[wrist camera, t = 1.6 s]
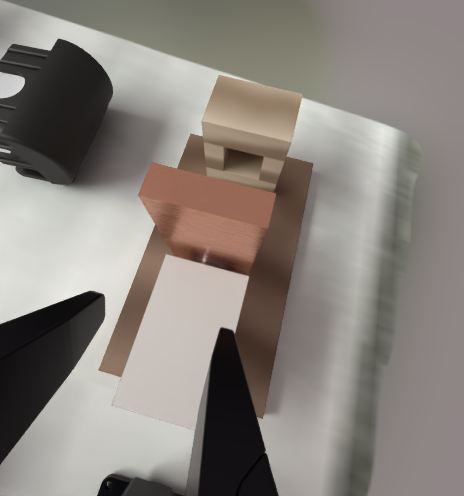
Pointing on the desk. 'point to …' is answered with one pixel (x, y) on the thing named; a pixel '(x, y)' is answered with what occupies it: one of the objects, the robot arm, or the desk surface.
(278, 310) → the base board
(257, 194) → the brushed copper slab
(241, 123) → the socket block
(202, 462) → the robot arm
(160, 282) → the white rectangular block
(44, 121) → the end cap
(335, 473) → the desk surface
